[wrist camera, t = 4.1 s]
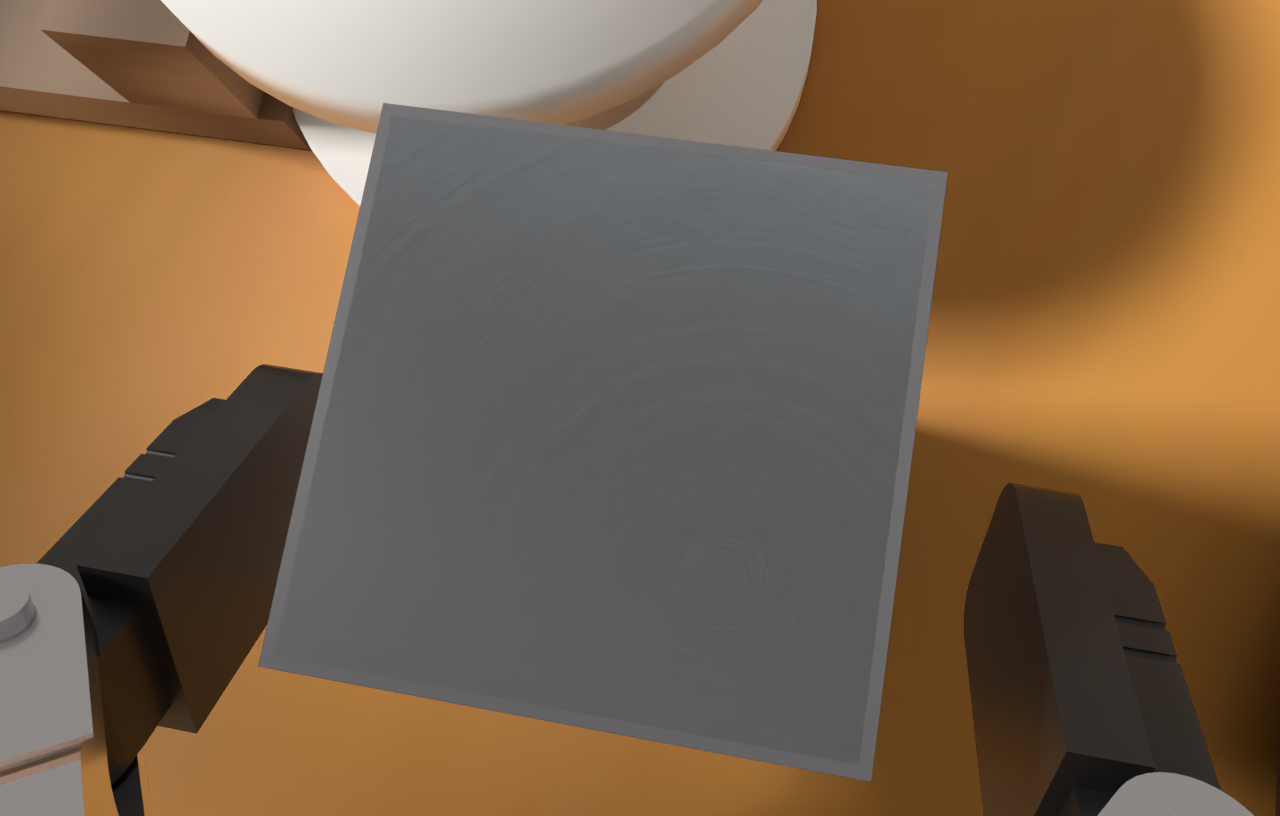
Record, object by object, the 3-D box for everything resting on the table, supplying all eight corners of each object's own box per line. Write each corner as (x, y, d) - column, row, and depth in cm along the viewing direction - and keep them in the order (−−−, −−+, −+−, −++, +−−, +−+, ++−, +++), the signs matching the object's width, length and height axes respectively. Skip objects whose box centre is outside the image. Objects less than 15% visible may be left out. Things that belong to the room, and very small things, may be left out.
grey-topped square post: (786, 668, 17) (871, 782, 7) (518, 620, 18) (257, 667, 8) (824, 398, 18) (946, 171, 8) (565, 360, 18) (383, 102, 8)
